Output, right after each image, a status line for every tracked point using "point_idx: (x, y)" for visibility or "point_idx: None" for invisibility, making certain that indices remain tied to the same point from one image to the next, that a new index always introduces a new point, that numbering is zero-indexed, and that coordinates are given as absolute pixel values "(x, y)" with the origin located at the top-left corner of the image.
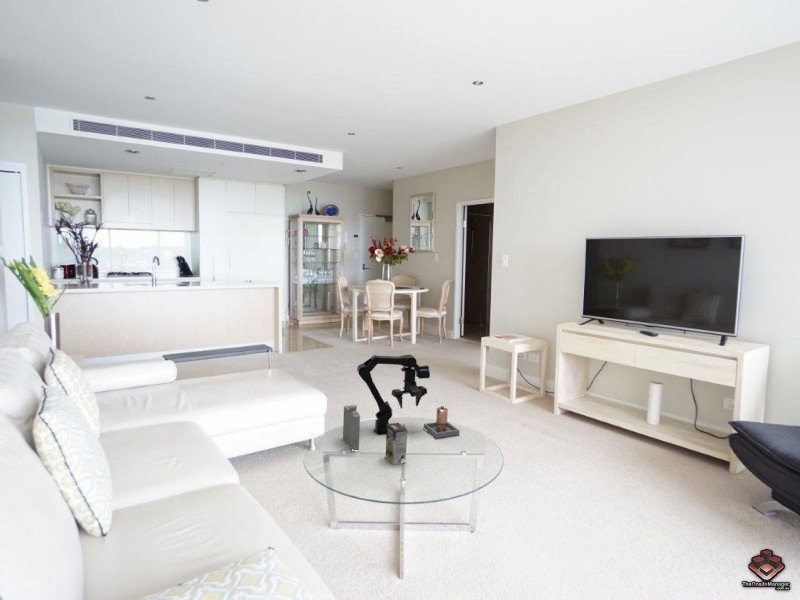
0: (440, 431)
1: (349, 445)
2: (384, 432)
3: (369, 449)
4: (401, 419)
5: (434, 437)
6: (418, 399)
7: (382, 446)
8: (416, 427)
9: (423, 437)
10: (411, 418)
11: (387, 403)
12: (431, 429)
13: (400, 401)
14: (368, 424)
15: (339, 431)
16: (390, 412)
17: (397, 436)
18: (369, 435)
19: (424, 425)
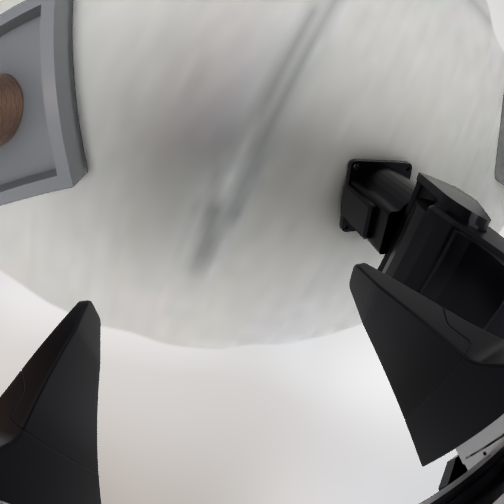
0: (3, 76)
1: None
2: (379, 167)
3: (485, 46)
4: (189, 322)
5: (70, 11)
6: (34, 397)
7: (442, 31)
8: (128, 207)
9: (141, 27)
10: (131, 325)
11: (489, 319)
12: (49, 65)
13: (470, 327)
14: None
15: None
16: (459, 222)
17: None
18: (437, 173)
19: (73, 171)
